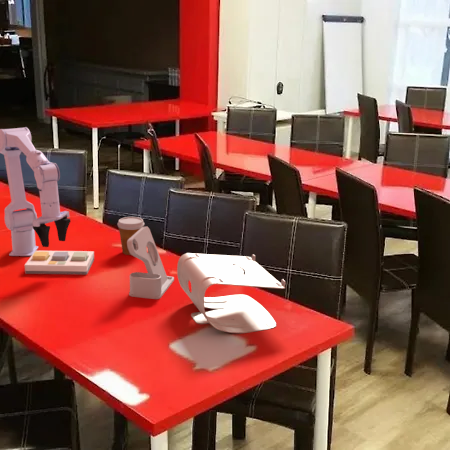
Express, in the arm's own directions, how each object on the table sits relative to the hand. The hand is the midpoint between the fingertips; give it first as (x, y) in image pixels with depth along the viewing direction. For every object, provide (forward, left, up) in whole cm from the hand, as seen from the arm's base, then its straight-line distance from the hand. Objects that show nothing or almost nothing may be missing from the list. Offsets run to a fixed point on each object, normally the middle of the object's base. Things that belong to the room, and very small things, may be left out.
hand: (54, 243), depth 208 cm
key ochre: (-7, -6, -8) cm, 12 cm away
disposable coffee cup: (-22, +22, -11) cm, 33 cm away
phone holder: (+10, +32, -11) cm, 35 cm away
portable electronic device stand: (+29, +56, -11) cm, 64 cm away
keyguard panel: (-7, 0, -10) cm, 13 cm away
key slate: (-7, 0, -8) cm, 11 cm away
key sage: (-7, +7, -8) cm, 12 cm away
